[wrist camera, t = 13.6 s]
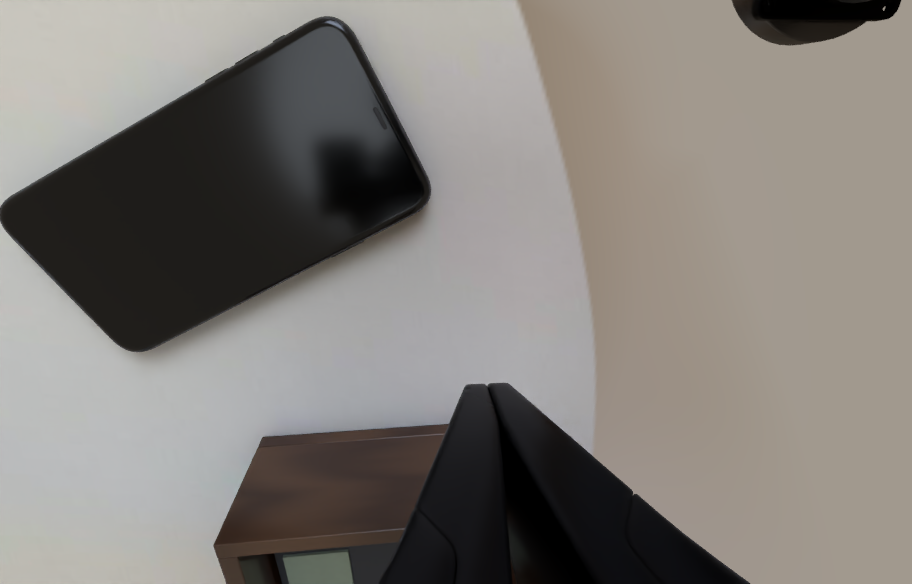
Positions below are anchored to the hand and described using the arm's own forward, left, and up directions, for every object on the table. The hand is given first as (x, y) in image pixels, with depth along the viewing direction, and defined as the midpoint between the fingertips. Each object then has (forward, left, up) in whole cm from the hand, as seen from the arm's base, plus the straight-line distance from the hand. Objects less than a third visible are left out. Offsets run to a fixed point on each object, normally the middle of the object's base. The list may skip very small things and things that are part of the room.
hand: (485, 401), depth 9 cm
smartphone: (+9, -2, -12) cm, 15 cm away
